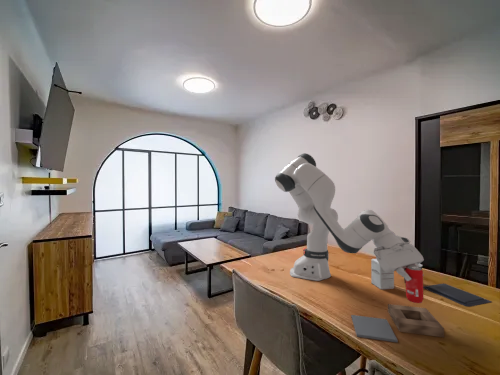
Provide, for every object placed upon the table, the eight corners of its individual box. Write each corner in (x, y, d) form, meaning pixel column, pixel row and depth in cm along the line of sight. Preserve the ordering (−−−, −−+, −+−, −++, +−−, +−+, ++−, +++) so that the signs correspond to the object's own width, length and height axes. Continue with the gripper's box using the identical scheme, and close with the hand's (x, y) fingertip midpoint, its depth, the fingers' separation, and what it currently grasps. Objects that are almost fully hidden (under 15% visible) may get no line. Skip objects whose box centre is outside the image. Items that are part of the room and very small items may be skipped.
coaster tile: (356, 336, 78) (356, 334, 78) (351, 316, 90) (351, 314, 90) (397, 342, 75) (397, 340, 75) (386, 321, 86) (386, 319, 86)
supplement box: (370, 283, 120) (370, 258, 119) (384, 282, 120) (384, 258, 120) (380, 289, 112) (380, 263, 112) (394, 288, 113) (394, 262, 113)
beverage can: (402, 297, 88) (401, 265, 87) (415, 296, 88) (414, 264, 88) (413, 304, 82) (412, 270, 82) (427, 303, 83) (426, 269, 83)
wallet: (420, 284, 115) (444, 281, 118) (420, 288, 115) (444, 284, 118) (466, 304, 95) (493, 299, 99) (466, 309, 95) (494, 304, 99)
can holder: (399, 331, 80) (399, 322, 80) (387, 311, 93) (387, 304, 93) (444, 337, 77) (444, 328, 77) (425, 315, 89) (425, 308, 89)
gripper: (376, 244, 87) (404, 280, 78) (410, 237, 95) (438, 269, 87) (366, 253, 91) (391, 288, 82) (399, 246, 100) (425, 276, 91)
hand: (415, 278), depth 85 cm, fingers closed on beverage can, 5 cm apart
